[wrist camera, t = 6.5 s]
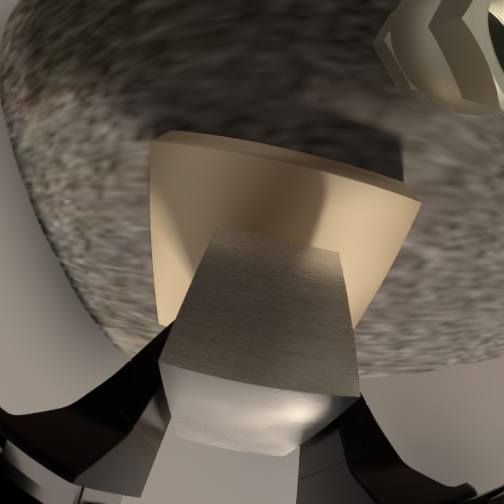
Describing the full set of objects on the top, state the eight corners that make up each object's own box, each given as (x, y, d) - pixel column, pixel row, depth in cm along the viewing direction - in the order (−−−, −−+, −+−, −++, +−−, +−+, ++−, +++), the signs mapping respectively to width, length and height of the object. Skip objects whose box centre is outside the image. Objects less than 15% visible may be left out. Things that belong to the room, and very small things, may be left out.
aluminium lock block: (338, 252, 9) (360, 397, 5) (291, 354, 12) (283, 456, 8) (217, 225, 9) (158, 361, 5) (206, 337, 12) (177, 437, 8)
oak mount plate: (404, 182, 10) (421, 202, 9) (330, 332, 16) (332, 359, 15) (172, 129, 10) (150, 140, 9) (170, 299, 16) (159, 324, 15)
